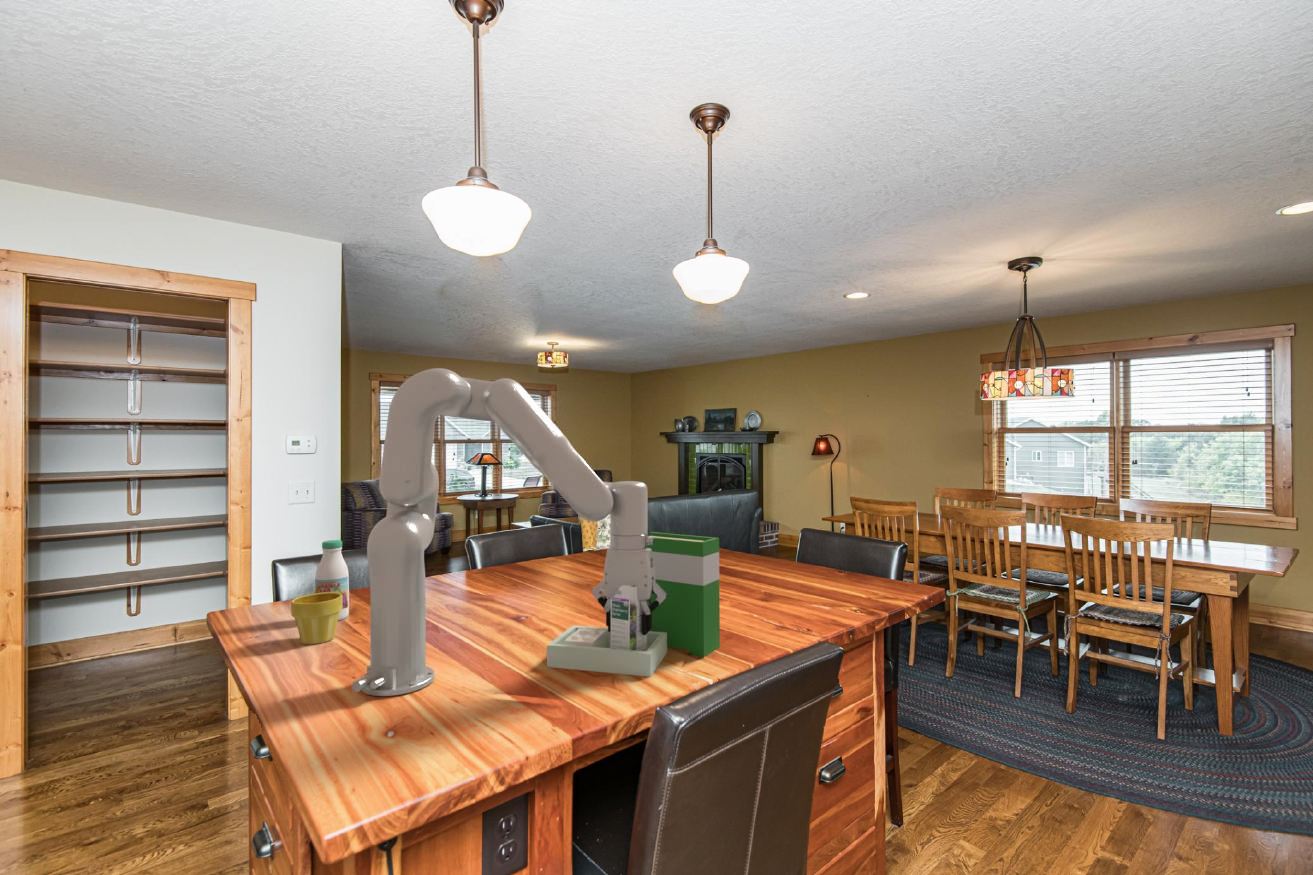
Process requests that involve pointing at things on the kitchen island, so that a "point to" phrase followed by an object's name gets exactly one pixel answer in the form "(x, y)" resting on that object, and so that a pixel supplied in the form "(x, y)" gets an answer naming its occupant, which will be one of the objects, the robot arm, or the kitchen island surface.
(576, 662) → the tote
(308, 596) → the plant pot
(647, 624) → the robot arm
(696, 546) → the hardback book
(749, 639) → the kitchen island surface
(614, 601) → the syrup box
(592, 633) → the white toy brick
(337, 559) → the milk bottle
